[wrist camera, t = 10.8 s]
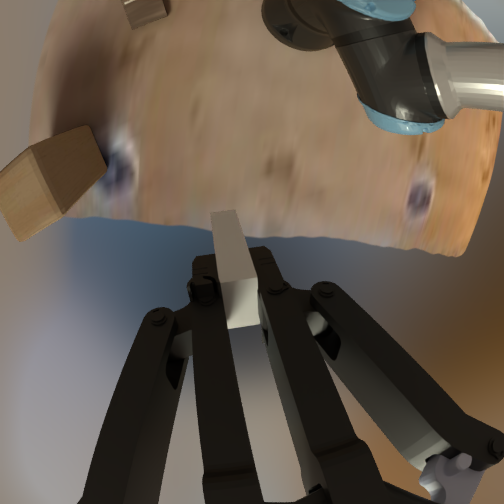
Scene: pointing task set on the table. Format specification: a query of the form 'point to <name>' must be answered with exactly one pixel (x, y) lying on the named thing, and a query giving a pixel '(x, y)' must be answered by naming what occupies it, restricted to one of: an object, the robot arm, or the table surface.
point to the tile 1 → (143, 11)
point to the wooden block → (49, 180)
